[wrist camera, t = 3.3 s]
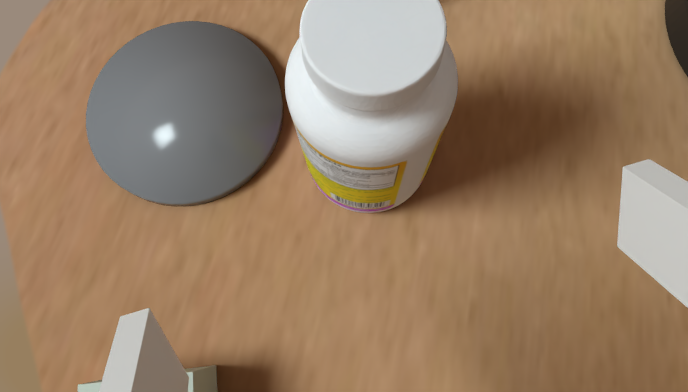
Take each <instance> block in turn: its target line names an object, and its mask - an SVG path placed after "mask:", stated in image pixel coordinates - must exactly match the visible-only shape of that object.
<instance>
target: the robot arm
mask: <svg viewBox="0 0 688 392" xmlns="http://www.w3.org/2000/svg"><path fill="white" fill-rule="evenodd" d="M665 20H666V27H667V32H668V36H669V40H670V43H671V46H672V48H673V51H674V53H675V55H676V58H677V60H678V62H679V63H680V65H681V67H682V69H683V70H684V72H685V73H686V75H687V76H688V0H666V2H665ZM617 247H618V248H620V249H621V250H622V251H623V252H624V253H625V254H626V255H628V256H629V257H630V258H631V259H632V260H633V261H634V262H636V263H637V264H638V265H639V266H640V267H641V268H643V269H644V270H645V271H646V272H647V273H648V274H649V275H651V276H652V277H653V278H654V279H655V280H656V281H657V282H659V283H660V284H661V285H662V286H663V287H664V288H665V289H667V290H668V291H669V292H670V293H671V294H672V295H674V296H675V297H676V298H677V299H678V300H679V301H680V302H682V303H683V304H684V305H685V306H686V307H687V308H688V182H687V181H685V180H684V179H682V178H680V177H679V176H677V175H675V174H674V173H672V172H670V171H669V170H667V169H665V168H663V167H662V166H660V165H658V164H657V163H655V162H653V161H652V160H650V159H648V160H644V161H641V162H637V163H634V164H631V165H627V166H624V167H623V173H622V187H621V201H620V215H619V229H618V243H617ZM188 384H189V376H188V375H187V373H186V371H185V369H184V368H183V366H182V364H181V362H180V361H179V359H178V357H177V355H176V354H175V352H174V350H173V348H172V347H171V345H170V343H169V341H168V340H167V338H166V336H165V334H164V333H163V331H162V329H161V327H160V326H159V324H158V322H157V320H156V319H155V317H154V315H153V313H152V312H151V310H150V308H147V309H144V310H141V311H137V312H134V313H131V314H127V315H124V316H120V319H119V323H118V326H117V330H116V333H115V337H114V340H113V344H112V347H111V351H110V354H109V358H108V361H107V365H106V368H105V372H104V375H103V379H102V382H101V386H100V389H99V392H188Z"/></svg>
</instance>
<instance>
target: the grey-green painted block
mask: <svg viewBox="0 0 688 392" xmlns="http://www.w3.org/2000/svg"><path fill="white" fill-rule="evenodd" d="M185 371H186V373H187V375H188V376H189V384H188V392H217V372H216V365H213V366H205V367H196V368H187V369H185ZM101 382H102V380H98V381H93V382H89V383H84V384H79V385H78V392H99V389H100V386H101Z"/></svg>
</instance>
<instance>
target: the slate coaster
mask: <svg viewBox="0 0 688 392" xmlns="http://www.w3.org/2000/svg"><path fill="white" fill-rule="evenodd" d="M282 121H283V99H282V93H281V89H280V85H279V82H278V79H277V76H276V74H275V72H274V69H273V67H272V65H271V64H270V62H269V60H268V59H267V57H266V56H265V55H264V54H263V52H262V51H261V50H260V49H259V48H258V47H257V46H256V45H255V44H254V43H253V42H252V41H250V40H249V39H248V38H246V37H245V36H243V35H242V34H240V33H238V32H236V31H234V30H232V29H230V28H227V27H224V26H221V25H217V24H213V23H208V22H199V21H185V22H177V23H171V24H167V25H163V26H160V27H157V28H154V29H151V30H149V31H147V32H145V33H143V34H141V35H139V36H137V37H136V38H134V39H133V40H131V41H129V42H128V43H127V44H125V45H124V46H123V47H122V48H121V49H119V50H118V51H117V52H116V53H115V54H114V55H113V56H112V57H111V58H110V59H109V61H108V62H107V63H106V65H105V66H104V67H103V69H102V70H101V72H100V74H99V75H98V77H97V79H96V81H95V83H94V85H93V88H92V90H91V93H90V96H89V100H88V105H87V112H86V129H87V136H88V140H89V144H90V147H91V150H92V152H93V154H94V156H95V158H96V160H97V162H98V163H99V165H100V166H101V168H102V169H103V171H104V172H105V173H106V174H107V175H108V176H109V177H110V178H111V179H112V180H113V181H114V182H116V183H117V184H118V185H119V186H121V187H122V188H124V189H126V190H127V191H129V192H131V193H132V194H134V195H136V196H137V197H140V198H142V199H144V200H147V201H149V202H153V203H157V204H160V205H168V206H192V205H200V204H204V203H207V202H211V201H214V200H217V199H219V198H222V197H224V196H226V195H228V194H230V193H232V192H234V191H235V190H237V189H238V188H240V187H241V186H243V185H244V184H245V183H247V182H248V181H249V180H250V179H251V178H252V177H253V176H255V175H256V174H257V173H258V171H259V170H260V169H261V168H262V167H263V165H264V164H265V163H266V161H267V160H268V158H269V157H270V155H271V154H272V152H273V150H274V147H275V145H276V143H277V141H278V138H279V135H280V132H281V127H282Z"/></svg>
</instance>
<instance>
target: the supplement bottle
mask: <svg viewBox="0 0 688 392" xmlns="http://www.w3.org/2000/svg"><path fill="white" fill-rule="evenodd" d="M446 36H447V26H446V19H445V15H444V11H443V9H442V7H441V4H440V2H439V0H308V2H307V4H306V6H305V8H304V10H303V13H302V16H301V22H300V38H299V39H298V41H297V42H296V44H295V46H294V47H293V50H292V52H291V54H290V57H289V60H288V64H287V67H286V74H285V94H286V100H287V104H288V107H289V111H290V114H291V117H292V120H293V123H294V125H295V128H296V131H297V134H298V138H299V141H300V144H301V147H302V150H303V153H304V156H305V159H306V162H307V165H308V168H309V171H310V173H311V176H312V178H313V180H314V182H315V183H316V185H317V187H318V188H319V189H320V191H321V192H322V193H323V194H324V195H325V196H326V197H327V198H328V199H329V200H331V201H332V202H334V203H335V204H337V205H339V206H340V207H343V208H345V209H348V210H351V211H355V212H361V213H375V212H382V211H386V210H389V209H391V208H394V207H396V206H398V205H400V204H401V203H403V202H404V201H406V200H407V199H408V198H409V197H410V196H412V195H413V194H414V192H415V191H416V190H417V189H418V187H419V186H420V184H421V183H422V181H423V179H424V177H425V175H426V173H427V170H428V168H429V166H430V163H431V161H432V158H433V156H434V154H435V151H436V149H437V147H438V144H439V142H440V139H441V137H442V134H443V132H444V130H445V128H446V125H447V123H448V121H449V119H450V116H451V113H452V111H453V108H454V105H455V101H456V97H457V91H458V74H457V67H456V62H455V59H454V56H453V53H452V51H451V48H450V46H449V44H448V43H447V41H446Z"/></svg>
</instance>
